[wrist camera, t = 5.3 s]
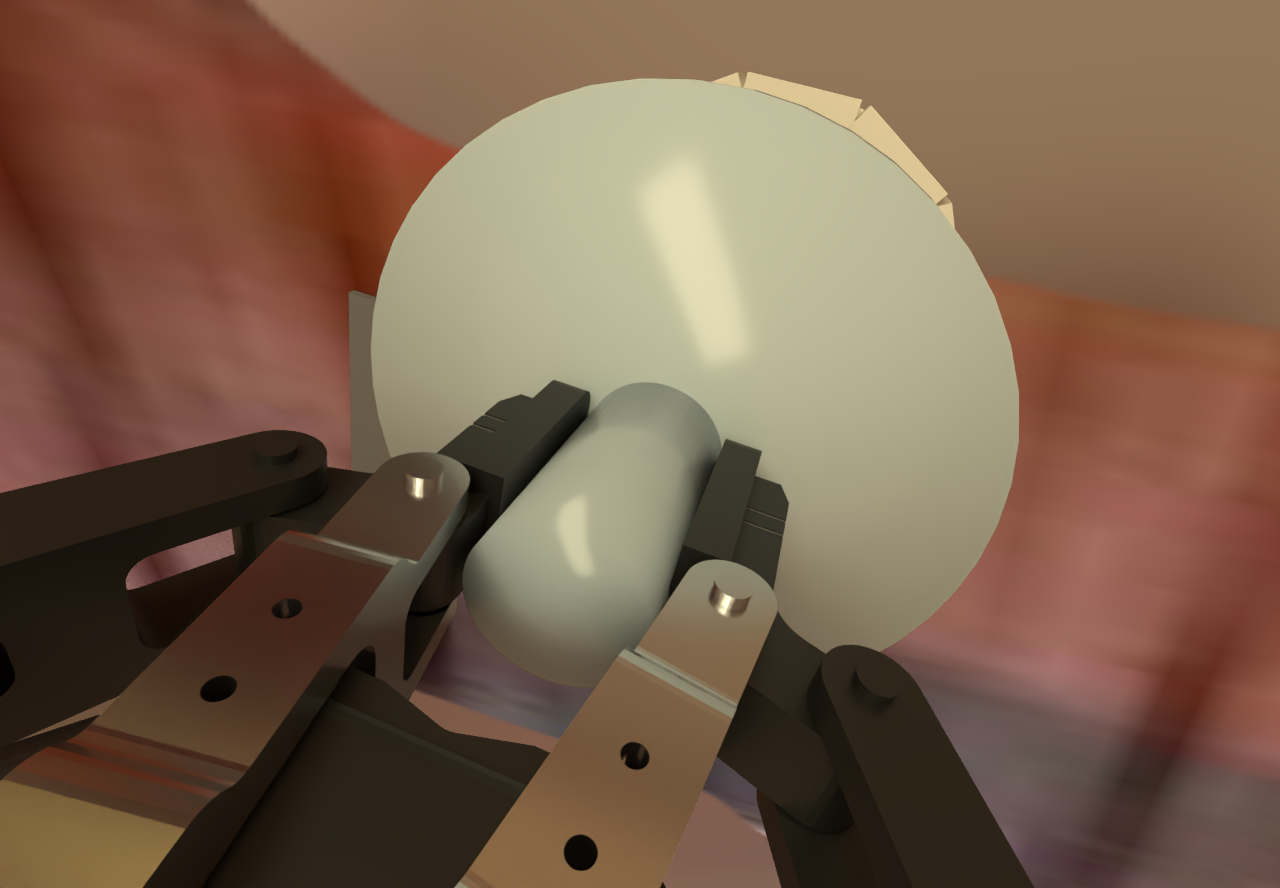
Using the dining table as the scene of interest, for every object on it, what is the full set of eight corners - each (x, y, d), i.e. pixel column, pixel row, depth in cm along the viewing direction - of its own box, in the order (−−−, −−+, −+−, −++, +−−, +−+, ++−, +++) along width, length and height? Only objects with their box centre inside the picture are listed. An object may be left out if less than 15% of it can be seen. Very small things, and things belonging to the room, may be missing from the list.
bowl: (576, 373, 30) (528, 419, 25) (634, 44, 23) (584, 31, 19) (859, 467, 28) (859, 533, 23) (1011, 137, 21) (1049, 146, 17)
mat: (357, 520, 38) (352, 524, 38) (354, 290, 31) (348, 292, 31) (579, 606, 36) (576, 611, 36) (629, 380, 29) (627, 384, 29)
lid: (392, 549, 18) (211, 722, 13) (407, 0, 12) (58, -78, 7) (849, 730, 16) (844, 1013, 11) (1173, 197, 10) (1511, 299, 5)
